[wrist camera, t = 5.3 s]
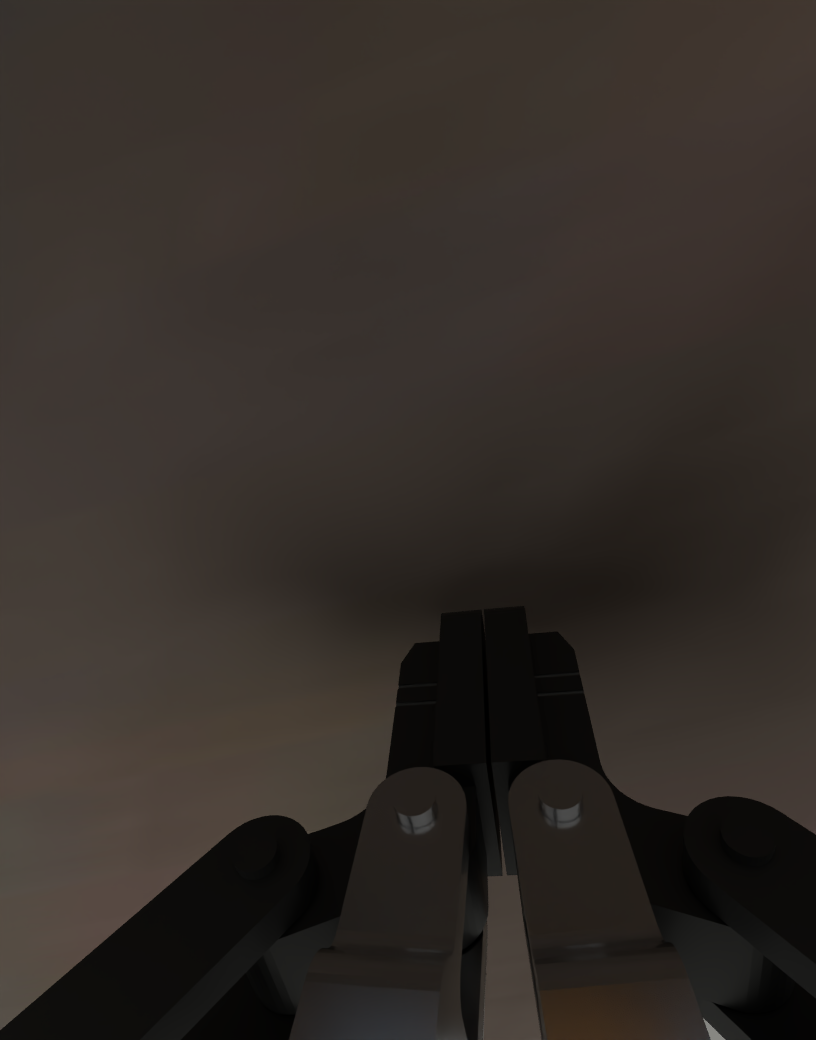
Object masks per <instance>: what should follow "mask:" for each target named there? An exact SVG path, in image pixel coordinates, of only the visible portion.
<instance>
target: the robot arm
mask: <svg viewBox="0 0 816 1040" xmlns="http://www.w3.org/2000/svg"><path fill="white" fill-rule="evenodd" d="M484 616H485V632H484V624H483V617H482V611H481V610H474V611H462V612H450V613H442V614H441V625H440V641H438V642H426V643H415V644H414V646H413V647H412V648H411V650H410V651H409V653H408V654H407V656H406V657H405V658H404V660H403V661H402V663H401V669H400V676H399V684H398V685H399V689H398V692H397V699H396V707H395V715H394V723H393V730H392V738H391V746H390V753H389V761H388V769H387V775H386V779H385V780H384V781H383V782H382V783H381V784H380V785H378V787H377V788H376V789H375V790H374V792H373V793H372V795H371V797H370V799H369V801H368V804H367V808H366V809H365V810H363V811H362V812H361V813H359V814H358V815H356V816H354V817H353V818H351V819H349V820H347V821H344V822H342V823H339V824H336V825H333V826H331V827H328V828H325V829H322V830H319V831H316V832H313V833H310V834H307V832H306V831H305V829H304V828H303V827H302V826H301V825H300V824H299V823H298V822H296V821H295V820H293V819H291V818H288V817H284V816H279V815H270V816H264V817H259V818H256V819H253V820H251V821H248V822H246V823H244V824H242V825H241V826H239V827H237V828H236V829H235V830H233V831H232V832H231V833H229V834H228V835H227V836H226V837H225V838H223V839H222V840H221V841H220V842H219V843H218V844H217V845H215V846H214V847H213V848H212V849H211V850H210V851H208V852H207V853H206V854H205V855H204V856H203V857H201V858H200V859H199V860H198V861H197V862H196V863H194V864H193V865H192V866H191V867H190V868H189V869H187V870H186V871H185V872H184V873H183V874H182V875H180V876H179V877H178V878H177V879H176V880H175V881H173V882H172V883H171V884H170V885H169V886H168V887H166V888H165V889H164V890H163V891H162V892H161V893H160V894H158V895H157V896H156V897H155V898H154V899H153V900H151V901H150V902H149V903H148V904H147V905H146V906H144V907H143V908H142V909H141V910H140V911H139V912H137V913H136V914H135V915H134V916H133V917H132V918H130V919H129V920H128V921H127V922H126V923H125V924H123V925H122V926H121V927H120V928H119V929H118V930H116V931H115V932H114V933H113V934H112V935H111V936H109V937H108V938H107V939H106V940H105V941H104V942H103V943H101V944H100V945H99V946H98V947H97V948H96V949H94V950H93V951H92V952H91V953H90V954H89V955H87V956H86V957H85V958H84V959H83V960H82V961H80V962H79V963H78V964H77V965H76V966H75V967H73V968H72V969H71V970H70V971H69V972H68V973H66V974H65V975H64V976H63V977H62V978H61V979H59V980H58V981H57V982H56V983H55V984H54V985H52V986H51V987H50V988H49V989H48V990H47V991H45V992H44V993H43V994H42V995H41V996H40V997H39V998H37V999H36V1000H35V1001H34V1002H33V1003H32V1004H30V1005H29V1006H28V1007H27V1008H26V1009H25V1010H23V1011H22V1012H21V1013H20V1014H19V1015H18V1016H16V1017H15V1018H14V1019H13V1020H12V1021H11V1022H9V1023H8V1024H7V1025H6V1026H5V1027H4V1028H2V1029H1V1030H0V1040H483V1030H484V1007H485V985H486V962H487V939H488V928H487V916H488V879H487V876H503V875H502V857H501V838H500V829H501V836H502V843H503V850H504V857H505V864H506V871H507V875H518V883H519V891H520V899H521V906H522V914H523V922H524V930H525V937H526V943H527V949H528V956H529V962H530V969H531V975H532V982H533V988H534V994H535V1001H536V1007H537V1014H538V1020H539V1027H540V1033H541V1040H710V1037H709V1034H708V1031H707V1028H706V1025H705V1023H704V1020H703V1018H704V1019H705V1020H706V1021H707V1022H708V1023H709V1024H710V1025H711V1026H712V1027H713V1028H714V1029H716V1031H717V1032H718V1033H719V1034H720V1035H721V1036H722V1037H723V1038H725V1039H726V1040H816V835H815V834H814V833H812V832H811V831H809V830H807V829H806V828H804V827H803V826H801V825H800V824H798V823H797V822H795V821H794V820H792V819H790V818H789V817H787V816H786V815H784V814H783V813H781V812H780V811H778V810H776V809H774V808H772V807H771V806H768V805H766V804H764V803H761V802H759V801H755V800H752V799H748V798H742V797H731V796H727V797H717V798H713V799H709V800H707V801H705V802H703V803H701V804H699V805H698V806H697V807H695V808H694V809H693V810H692V811H691V813H690V814H689V815H688V816H685V815H681V814H676V813H672V812H668V811H663V810H659V809H655V808H652V807H648V806H645V805H643V804H641V803H638V802H636V801H634V800H632V799H631V798H629V797H627V796H626V795H624V794H623V793H622V792H620V791H619V790H618V789H617V788H616V787H615V786H614V785H613V784H612V783H611V782H610V781H609V779H608V778H607V777H606V775H605V773H604V771H603V769H602V766H601V763H600V759H599V755H598V751H597V747H596V742H595V738H594V734H593V729H592V725H591V721H590V716H589V712H588V708H587V703H586V699H585V695H584V692H583V686H582V682H581V678H580V675H579V669H578V665H577V660H576V656H575V652H574V649H573V648H572V647H571V646H570V645H569V644H568V642H567V641H566V640H565V639H564V638H563V637H562V636H561V635H560V634H559V633H558V632H547V633H534V634H528V629H527V621H526V614H525V607H524V606H518V607H506V608H495V609H484ZM485 638H486V640H485Z"/></svg>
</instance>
